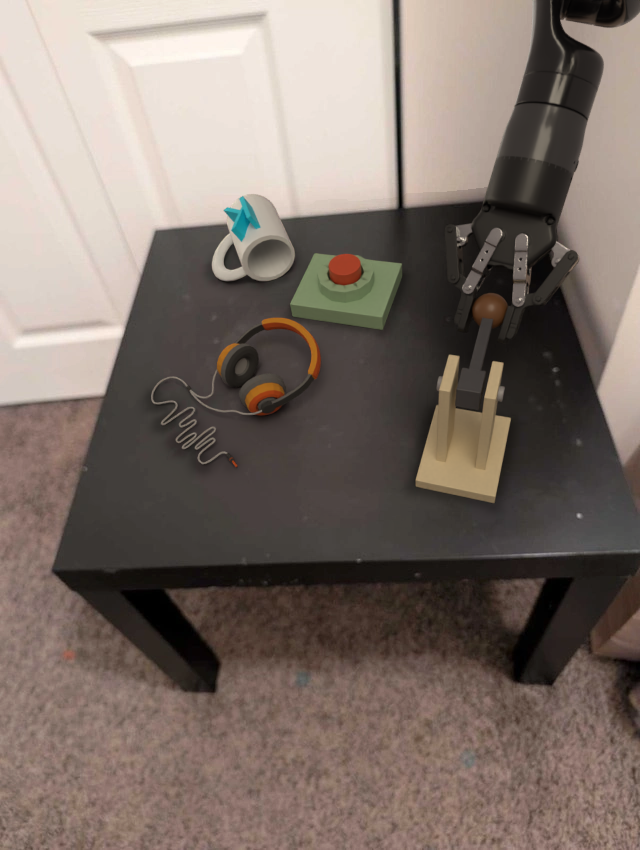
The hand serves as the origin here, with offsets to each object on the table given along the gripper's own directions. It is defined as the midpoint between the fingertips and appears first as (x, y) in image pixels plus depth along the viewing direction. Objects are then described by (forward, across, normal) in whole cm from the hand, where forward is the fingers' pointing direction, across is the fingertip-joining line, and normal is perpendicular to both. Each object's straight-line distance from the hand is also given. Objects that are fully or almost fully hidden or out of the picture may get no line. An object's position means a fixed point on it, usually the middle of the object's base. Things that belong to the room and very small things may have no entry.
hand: (482, 336), depth 69 cm
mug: (-1, -37, +14) cm, 40 cm away
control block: (0, -20, +12) cm, 24 cm away
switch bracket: (+12, +2, 0) cm, 13 cm away
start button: (-2, -20, +9) cm, 23 cm away
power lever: (+2, +1, -3) cm, 4 cm away
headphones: (+14, -24, -2) cm, 28 cm away
